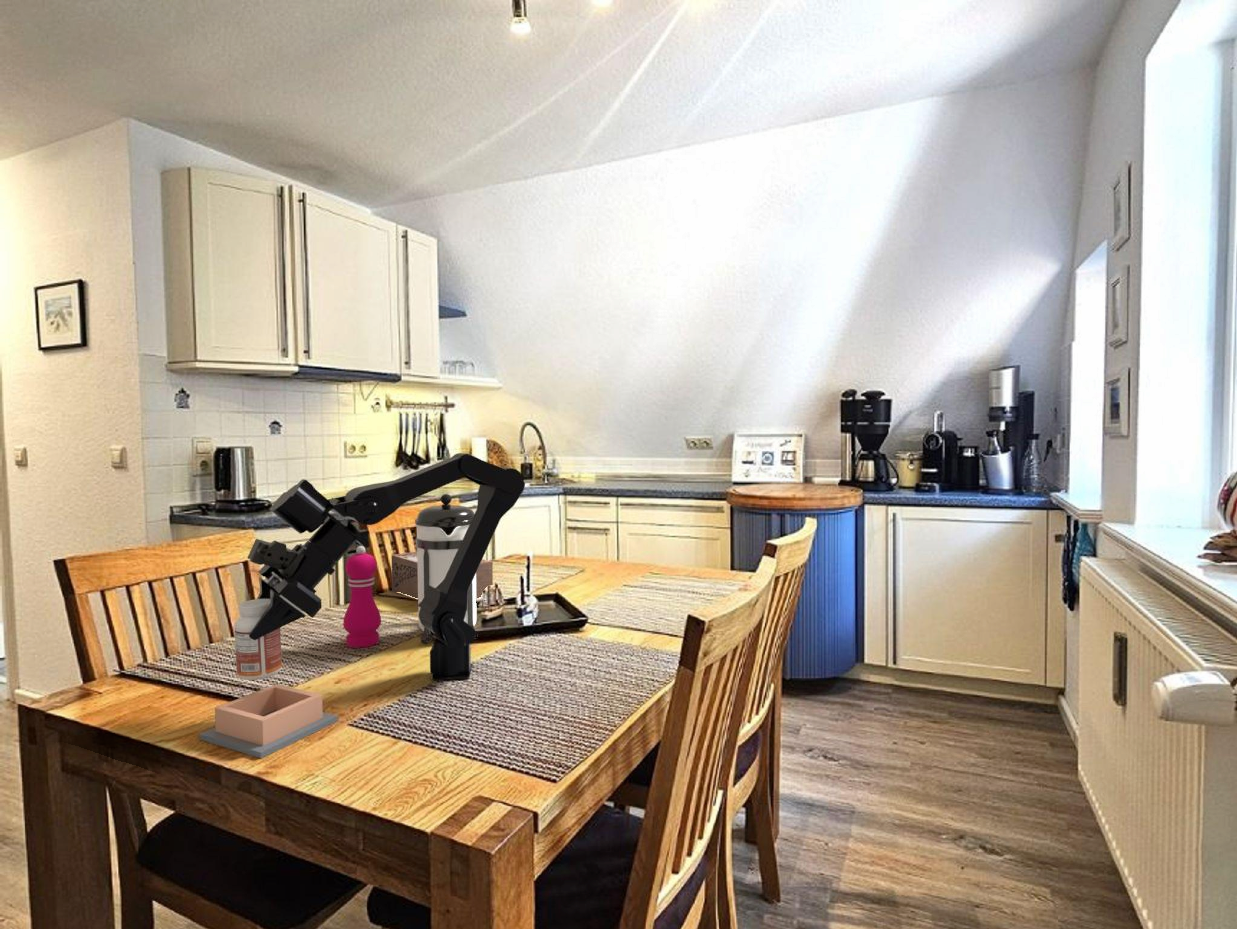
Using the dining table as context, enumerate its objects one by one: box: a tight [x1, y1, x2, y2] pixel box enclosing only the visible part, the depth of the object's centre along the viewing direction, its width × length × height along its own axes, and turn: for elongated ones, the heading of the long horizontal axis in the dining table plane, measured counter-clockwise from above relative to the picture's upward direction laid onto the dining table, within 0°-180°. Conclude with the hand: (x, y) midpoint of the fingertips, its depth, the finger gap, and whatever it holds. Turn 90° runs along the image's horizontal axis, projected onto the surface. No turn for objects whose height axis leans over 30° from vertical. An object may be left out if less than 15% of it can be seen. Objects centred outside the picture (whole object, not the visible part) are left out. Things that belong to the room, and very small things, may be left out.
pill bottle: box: [233, 598, 283, 681], centre depth 106 cm, size 6×6×11 cm
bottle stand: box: [198, 683, 339, 759], centre depth 102 cm, size 13×13×4 cm
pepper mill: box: [342, 545, 382, 649], centre depth 142 cm, size 7×7×20 cm
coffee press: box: [414, 493, 477, 645], centre depth 148 cm, size 17×16×30 cm
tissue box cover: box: [391, 551, 494, 598], centre depth 182 cm, size 26×14×10 cm, turn 45°
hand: (247, 632), depth 105 cm, fingers closed on pill bottle, 6 cm apart
